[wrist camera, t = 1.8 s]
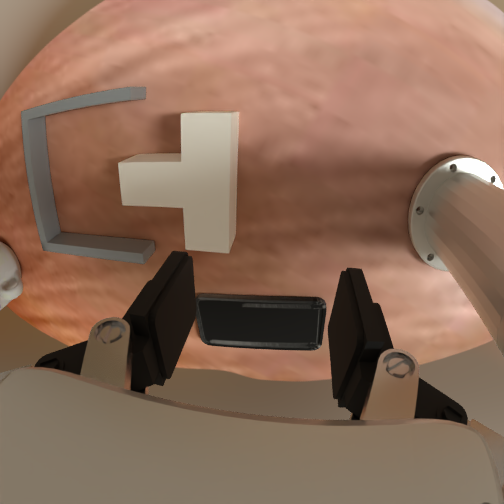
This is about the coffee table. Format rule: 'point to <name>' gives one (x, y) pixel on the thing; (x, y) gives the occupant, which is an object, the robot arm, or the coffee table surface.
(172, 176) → the t block
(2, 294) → the teacup
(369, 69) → the coffee table surface
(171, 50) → the coffee table surface
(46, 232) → the bay
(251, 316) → the phone
